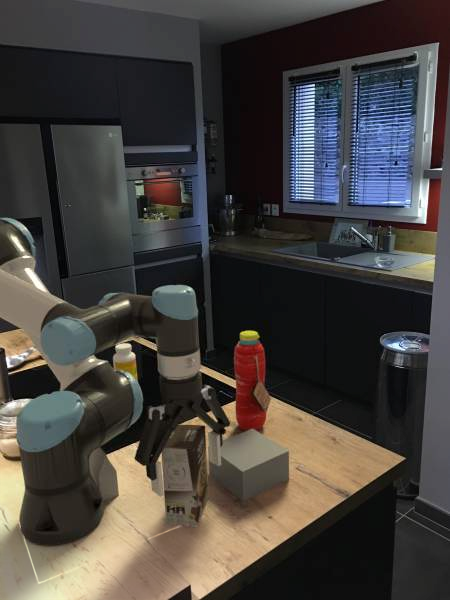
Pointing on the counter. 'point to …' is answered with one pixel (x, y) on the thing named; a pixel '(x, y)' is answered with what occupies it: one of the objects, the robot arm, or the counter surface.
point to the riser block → (250, 464)
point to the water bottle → (250, 382)
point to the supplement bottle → (125, 359)
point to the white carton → (103, 474)
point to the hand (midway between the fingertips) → (187, 477)
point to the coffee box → (185, 475)
